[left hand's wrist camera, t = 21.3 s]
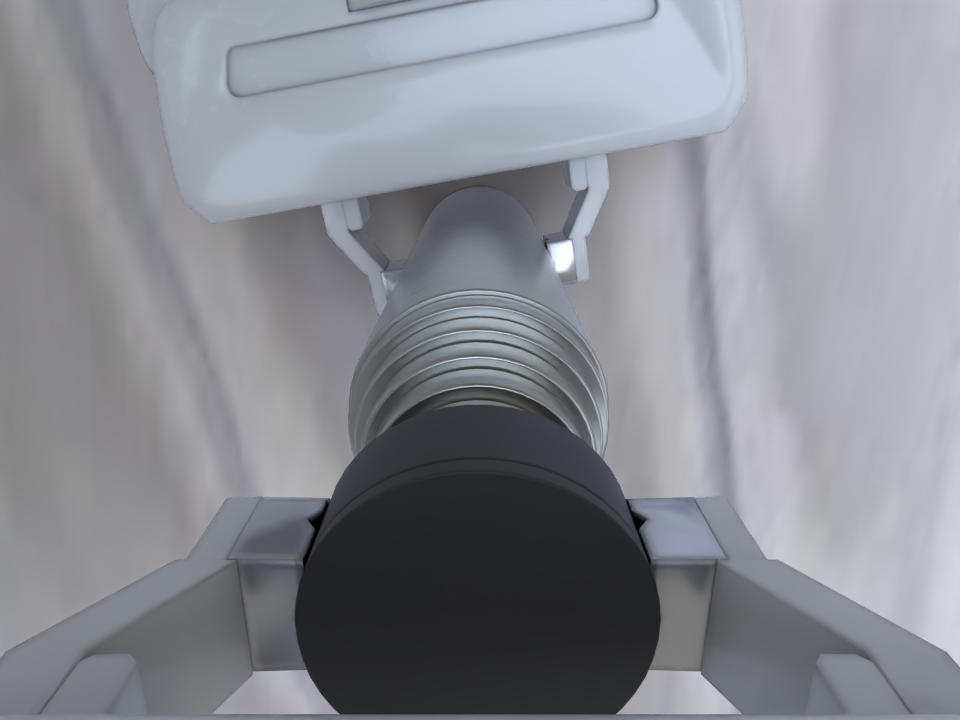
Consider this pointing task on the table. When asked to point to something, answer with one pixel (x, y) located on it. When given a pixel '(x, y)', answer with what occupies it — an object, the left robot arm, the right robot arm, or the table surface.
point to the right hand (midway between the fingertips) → (484, 295)
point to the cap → (477, 574)
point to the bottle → (479, 328)
